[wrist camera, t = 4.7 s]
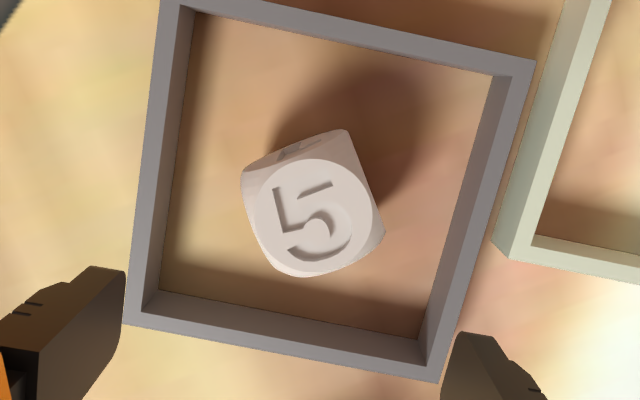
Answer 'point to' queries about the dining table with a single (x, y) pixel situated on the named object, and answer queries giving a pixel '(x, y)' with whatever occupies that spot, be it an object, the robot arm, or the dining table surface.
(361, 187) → the die
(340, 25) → the gray frame
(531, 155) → the sage frame
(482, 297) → the dining table surface
